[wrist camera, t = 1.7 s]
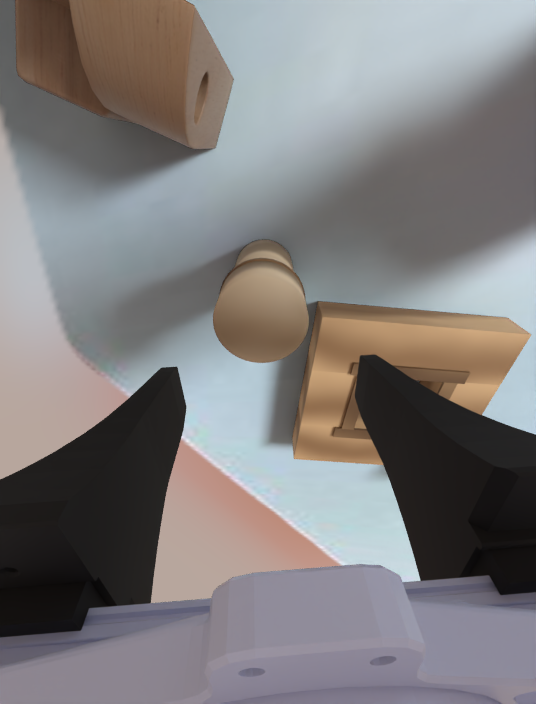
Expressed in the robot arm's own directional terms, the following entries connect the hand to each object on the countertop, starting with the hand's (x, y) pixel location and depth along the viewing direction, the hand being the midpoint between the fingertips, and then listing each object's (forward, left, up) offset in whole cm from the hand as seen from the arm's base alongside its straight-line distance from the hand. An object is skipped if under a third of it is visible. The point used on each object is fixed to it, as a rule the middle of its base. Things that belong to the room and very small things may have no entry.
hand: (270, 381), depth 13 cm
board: (+8, +10, -11) cm, 17 cm away
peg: (-1, -1, -11) cm, 11 cm away
